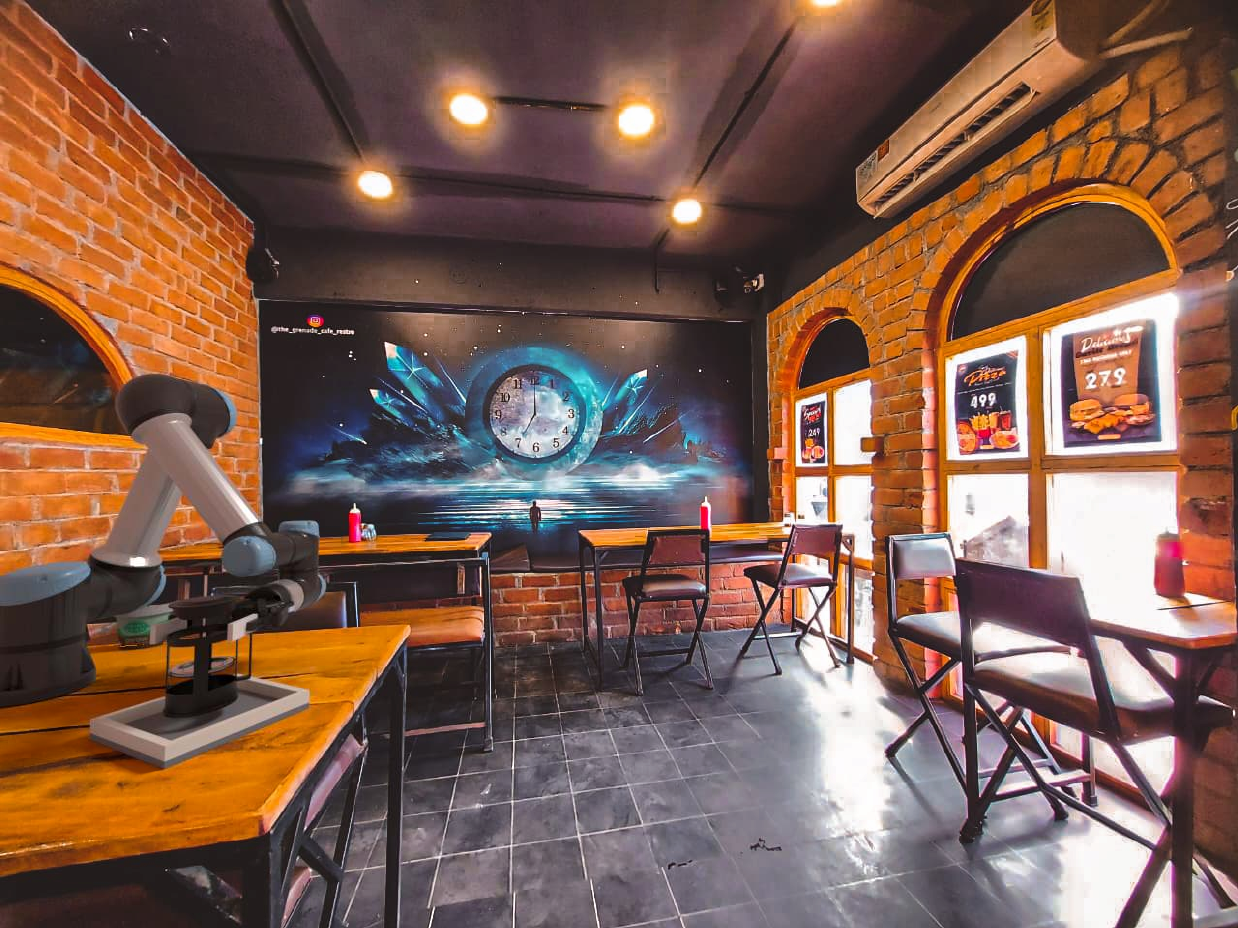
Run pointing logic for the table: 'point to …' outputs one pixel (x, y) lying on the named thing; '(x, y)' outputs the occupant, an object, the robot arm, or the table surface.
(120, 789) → the table surface
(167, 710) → the french press
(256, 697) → the serving tray
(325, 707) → the table surface
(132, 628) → the food container
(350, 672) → the table surface
